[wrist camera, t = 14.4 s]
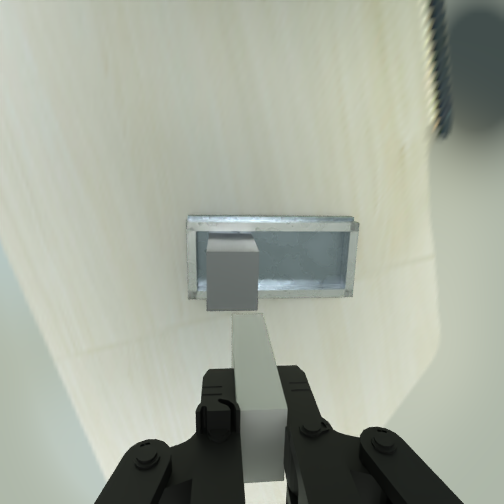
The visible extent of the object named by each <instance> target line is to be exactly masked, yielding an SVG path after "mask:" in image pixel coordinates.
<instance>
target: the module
mask: <svg viewBox="0 0 504 504" xmlns="http://www.w3.org/2000/svg"><path fill="white" fill-rule="evenodd" d="M206 268H207V311H254V310H257V309H258V280H259V250H258V247H257V245H256V243H255V241H254V238H253V236H252V234H251V233H209V239H208V245H207V251H206Z"/></svg>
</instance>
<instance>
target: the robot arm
mask: <svg viewBox="0 0 504 504" xmlns="http://www.w3.org/2000/svg"><path fill="white" fill-rule="evenodd" d="M284 469H285V474H286V479H287V493H286V504H464V503H463V502H462V501H461V500H460V499H459V498H458V497H457V496H456V495H455V494H454V493H453V492H452V491H451V490H450V489H449V488H448V486H446V484H445V483H444V482H443V481H442V480H441V479H440V478H439V477H438V476H437V475H436V474H435V473H434V472H433V471H432V470H431V469H430V468H429V467H428V466H427V465H426V463H425V462H424V461H423V460H422V459H421V458H420V457H419V456H418V455H417V454H416V453H415V452H414V451H413V450H412V449H411V448H410V447H409V445H408V444H407V443H406V442H405V441H404V440H403V439H402V438H401V437H399V436H398V435H397V434H396V433H394V432H392V431H390V430H388V429H386V428H381V427H369V428H367V429H365V430H363V432H362V433H361V435H360V438H359V437H354V436H349V435H345V434H342V433H339V432H337V431H335V430H333V428H332V427H331V425H330V424H329V422H328V421H326V420H325V419H324V418H322V417H321V415H320V412H319V409H318V407H317V404H316V401H315V399H314V396H313V394H312V391H311V388H310V386H309V383H308V381H307V378H306V375H305V373H304V372H303V371H302V370H301V369H300V368H299V367H298V366H297V365H292V366H276V362H275V358H274V354H273V351H272V347H271V343H270V339H269V335H268V331H267V328H266V324H265V320H264V316H263V313H261V314H232V368H230V369H209V370H208V371H207V373H206V374H205V375H204V377H203V384H202V396H201V403H200V404H199V405H198V407H197V409H196V433H195V434H194V435H193V436H192V437H191V438H190V439H189V440H187V441H186V442H184V443H181V444H179V445H176V446H173V447H169V446H168V445H167V444H166V443H165V442H163V441H160V440H157V439H148V440H145V441H141V442H138V443H137V444H135V445H134V446H132V447H131V448H130V449H129V450H128V451H127V452H126V453H125V454H124V456H123V458H122V459H121V461H120V463H119V464H118V466H117V467H116V469H115V471H114V472H113V474H112V476H111V477H110V479H109V480H108V482H107V484H106V485H105V487H104V488H103V490H102V492H101V493H100V495H99V497H98V498H97V500H96V502H95V503H94V504H245V493H244V483H253V482H269V481H284Z"/></svg>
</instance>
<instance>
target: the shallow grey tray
mask: <svg viewBox="0 0 504 504" xmlns="http://www.w3.org/2000/svg"><path fill="white" fill-rule="evenodd" d="M186 225H187V261H188V298H189V299H207V268H206V251H207V245H208V239H209V233H251V234H252V236H253V238H254V241H255V243H256V245H257V247H258V250H259V280H258V298H306V297H352V295H353V285H354V274H355V264H356V254H357V243H358V233H359V223H358V222H356V221H354V217H352V216H238V215H188V220H187V222H186Z"/></svg>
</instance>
